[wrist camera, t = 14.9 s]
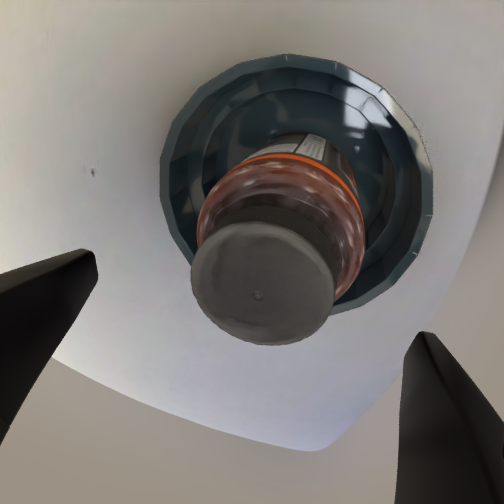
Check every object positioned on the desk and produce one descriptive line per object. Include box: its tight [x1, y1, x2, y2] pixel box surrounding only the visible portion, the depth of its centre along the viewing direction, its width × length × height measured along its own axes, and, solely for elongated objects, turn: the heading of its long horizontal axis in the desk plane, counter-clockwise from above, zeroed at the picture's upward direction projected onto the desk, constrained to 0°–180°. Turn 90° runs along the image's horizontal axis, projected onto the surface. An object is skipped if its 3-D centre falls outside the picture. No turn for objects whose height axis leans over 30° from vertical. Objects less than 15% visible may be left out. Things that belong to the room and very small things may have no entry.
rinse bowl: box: [160, 54, 433, 316], centre depth 16 cm, size 13×13×5 cm
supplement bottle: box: [190, 132, 365, 346], centre depth 13 cm, size 6×6×11 cm
